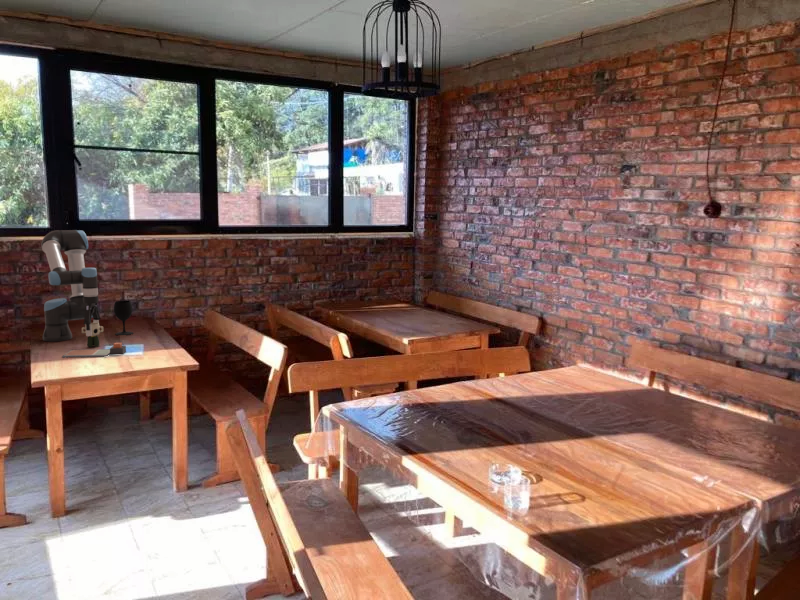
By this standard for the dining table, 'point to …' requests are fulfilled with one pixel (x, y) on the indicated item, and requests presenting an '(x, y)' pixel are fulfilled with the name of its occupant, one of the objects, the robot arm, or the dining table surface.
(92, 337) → the character mug
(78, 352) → the picture board
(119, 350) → the button housing
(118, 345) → the button cap
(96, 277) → the robot arm
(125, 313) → the wine glass
